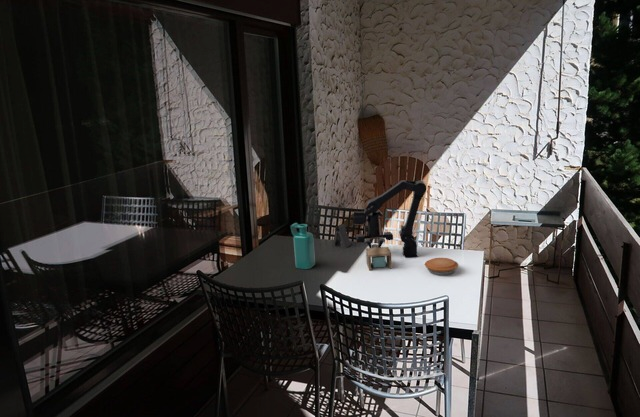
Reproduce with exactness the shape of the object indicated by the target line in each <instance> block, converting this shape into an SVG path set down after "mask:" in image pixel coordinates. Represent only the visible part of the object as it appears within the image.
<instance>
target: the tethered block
mask: <svg viewBox="0 0 640 417" xmlns="http://www.w3.org/2000/svg"><path fill="white" fill-rule="evenodd" d="M371 246H372V248H378V243H377V244H376V243H374V244H373V243H372V244H371ZM386 264H387V262H386V256H376V257H371V266H372V268H383V267H386V266H387V265H386Z"/></svg>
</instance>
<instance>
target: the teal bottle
mask: <svg viewBox="0 0 640 417" xmlns="http://www.w3.org/2000/svg"><path fill="white" fill-rule="evenodd" d="M289 227H290V231H291V234H292V236H293V248H294V249H293V250H294V263H295V268H296V269H300V270H310V269H312V268H314V266H315V265H316V257H315V256H316V255H315V254H316V253H315V242H314V241H315V240H314V234H313V233H311V232H308V231H307V227H309V226H308V224H306V223H300V224H299V223H298V222H294V223H293V224H291V225H290V226H289ZM297 229H298V230H297Z"/></svg>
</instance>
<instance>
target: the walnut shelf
mask: <svg viewBox="0 0 640 417" xmlns="http://www.w3.org/2000/svg"><path fill="white" fill-rule="evenodd" d="M365 249H366V250H365V254H366V256H365V257H366V265H367V268H368V271H372V257H376V256H385V261H386V264H387V267H388V268H389V270H393V264H392V263H393V261H392V252H391V250H390V248H389V246H381V247H379V248H369V247H368V248H365Z"/></svg>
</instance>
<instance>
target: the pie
mask: <svg viewBox="0 0 640 417" xmlns="http://www.w3.org/2000/svg"><path fill="white" fill-rule="evenodd" d="M423 265H424V266H425V268H426V269H427V271H428V272H429V273H430V274H432V275H434V276H449V275H452V274H454V273H455V270H456V269H457V268H458V267H459V263H458V262H457V261H455V260H454V259H452V258H448V257H433V258H431V259H428V260H426V261H425V263H424V264H423Z"/></svg>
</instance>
